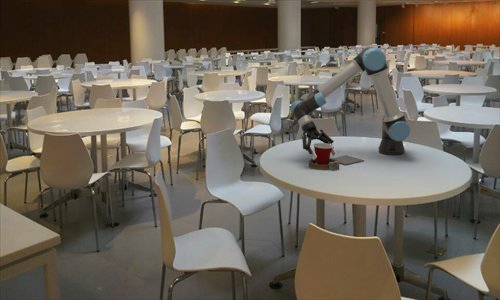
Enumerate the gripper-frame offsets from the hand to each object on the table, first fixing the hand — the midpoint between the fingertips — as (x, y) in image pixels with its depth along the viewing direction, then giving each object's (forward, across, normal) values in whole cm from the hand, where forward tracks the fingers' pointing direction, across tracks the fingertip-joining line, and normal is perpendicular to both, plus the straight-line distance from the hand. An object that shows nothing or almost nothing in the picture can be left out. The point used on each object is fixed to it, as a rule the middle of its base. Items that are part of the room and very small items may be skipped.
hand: (325, 156), depth 271 cm
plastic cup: (+3, 0, -6) cm, 6 cm away
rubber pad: (+3, -17, -5) cm, 18 cm away
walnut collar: (+4, 0, -5) cm, 6 cm away
